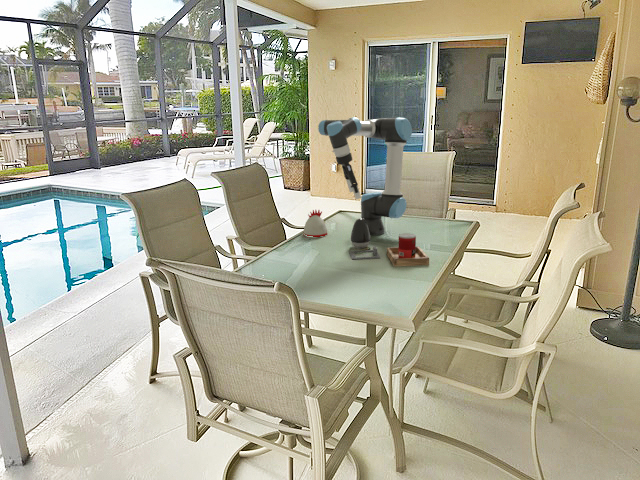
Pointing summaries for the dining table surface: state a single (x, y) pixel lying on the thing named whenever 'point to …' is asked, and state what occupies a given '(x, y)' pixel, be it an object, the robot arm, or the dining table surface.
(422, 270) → the dining table surface
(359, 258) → the frame
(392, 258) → the tray
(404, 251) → the canned food
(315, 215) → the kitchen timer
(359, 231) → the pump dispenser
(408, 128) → the robot arm
